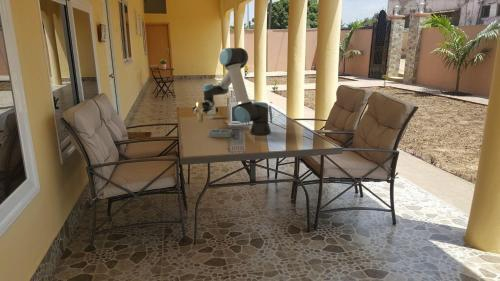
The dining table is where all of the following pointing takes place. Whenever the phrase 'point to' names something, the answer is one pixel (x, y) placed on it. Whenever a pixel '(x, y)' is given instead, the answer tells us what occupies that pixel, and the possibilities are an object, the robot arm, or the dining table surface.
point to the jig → (220, 133)
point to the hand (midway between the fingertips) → (197, 111)
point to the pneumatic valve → (212, 112)
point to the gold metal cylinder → (199, 112)
